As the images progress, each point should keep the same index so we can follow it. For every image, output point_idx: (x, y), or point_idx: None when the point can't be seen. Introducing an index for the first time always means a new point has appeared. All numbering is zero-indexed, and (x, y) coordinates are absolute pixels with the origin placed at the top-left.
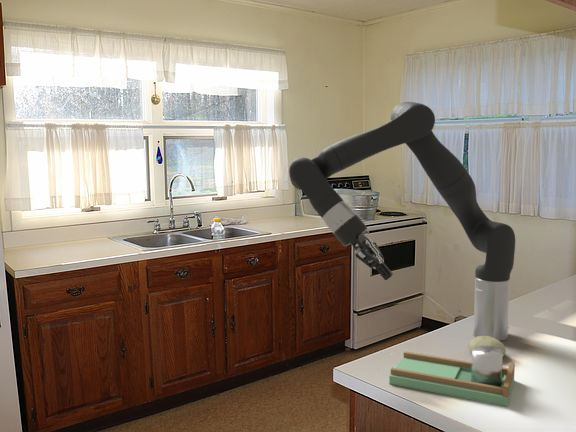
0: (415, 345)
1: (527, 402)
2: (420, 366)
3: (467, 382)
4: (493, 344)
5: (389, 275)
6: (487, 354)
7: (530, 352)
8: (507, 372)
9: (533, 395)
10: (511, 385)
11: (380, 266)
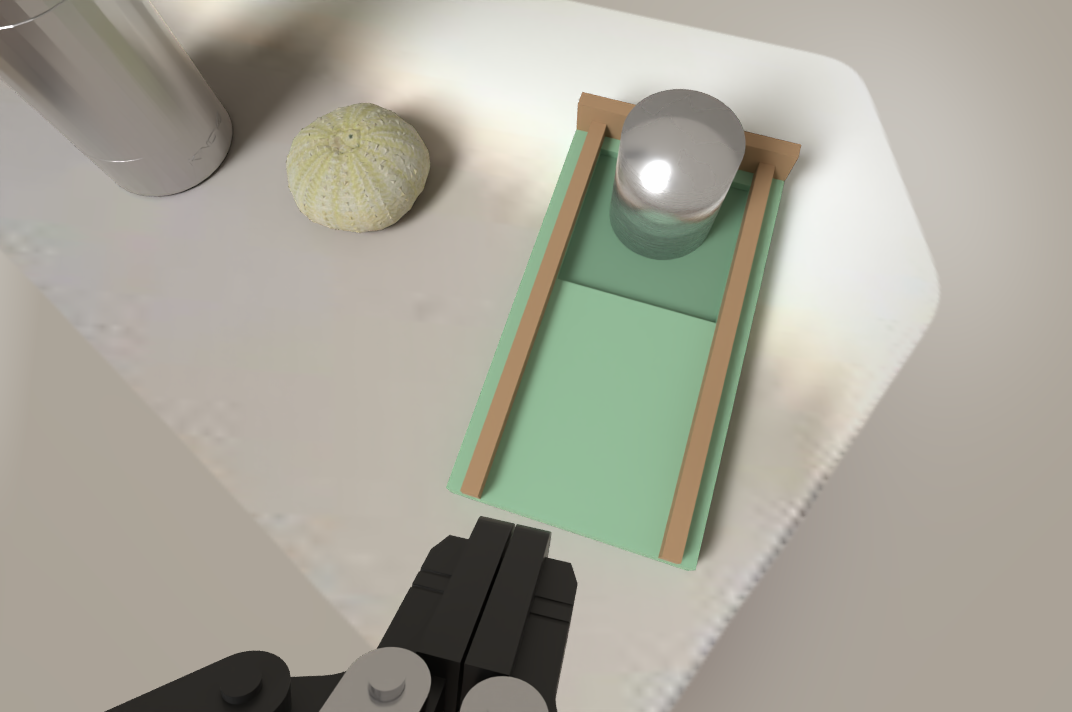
0: (259, 440)
1: None
2: (574, 429)
3: (745, 267)
4: (395, 130)
5: (548, 558)
6: (719, 142)
7: (337, 52)
8: None
9: None
10: None
11: (551, 705)
